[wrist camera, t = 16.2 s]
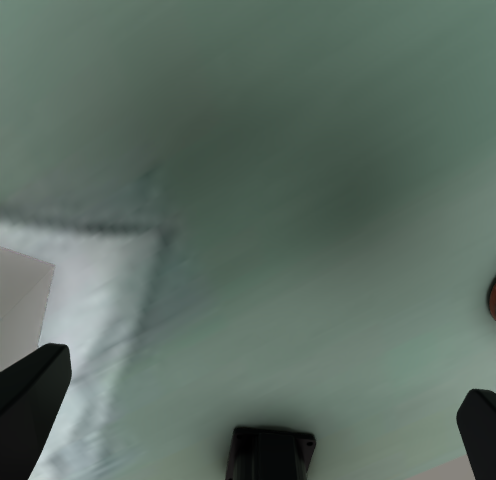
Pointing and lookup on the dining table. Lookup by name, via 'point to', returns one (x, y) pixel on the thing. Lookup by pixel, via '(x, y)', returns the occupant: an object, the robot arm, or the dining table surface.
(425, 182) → the dining table surface
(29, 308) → the tissue box
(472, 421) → the robot arm
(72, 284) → the dining table surface
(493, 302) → the supplement bottle
